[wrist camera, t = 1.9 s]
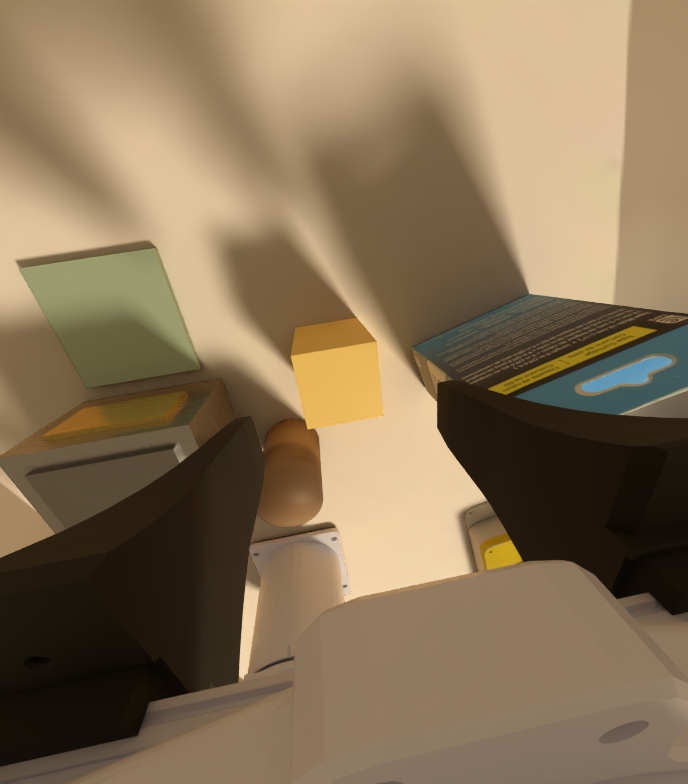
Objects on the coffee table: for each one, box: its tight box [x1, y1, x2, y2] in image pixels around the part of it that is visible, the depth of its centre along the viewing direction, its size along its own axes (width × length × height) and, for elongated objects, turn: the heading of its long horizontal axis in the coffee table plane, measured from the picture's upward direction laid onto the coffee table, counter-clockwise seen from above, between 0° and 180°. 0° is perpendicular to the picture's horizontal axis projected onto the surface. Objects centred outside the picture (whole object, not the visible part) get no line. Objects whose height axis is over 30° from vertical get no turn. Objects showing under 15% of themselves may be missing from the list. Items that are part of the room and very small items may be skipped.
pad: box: [18, 248, 201, 388], centre depth 17 cm, size 7×7×1 cm
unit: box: [0, 378, 235, 534], centre depth 18 cm, size 7×9×6 cm
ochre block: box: [291, 318, 384, 429], centre depth 17 cm, size 4×4×6 cm
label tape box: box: [411, 294, 688, 415], centre depth 15 cm, size 9×4×12 cm, turn 113°
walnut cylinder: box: [257, 419, 323, 527], centre depth 19 cm, size 4×4×6 cm
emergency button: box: [464, 502, 523, 572], centre depth 29 cm, size 9×4×15 cm
